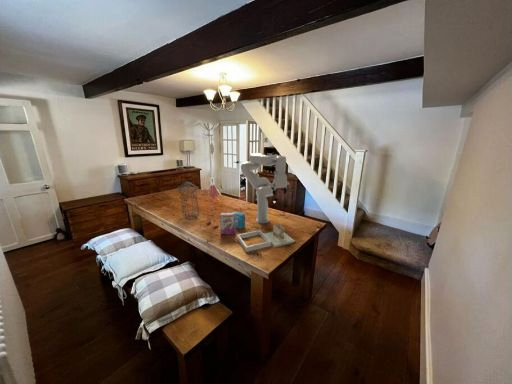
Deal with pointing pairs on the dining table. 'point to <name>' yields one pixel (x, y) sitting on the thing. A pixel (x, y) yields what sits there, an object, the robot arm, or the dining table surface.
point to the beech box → (278, 231)
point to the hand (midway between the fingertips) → (279, 194)
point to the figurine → (213, 193)
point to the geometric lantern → (189, 197)
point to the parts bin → (256, 246)
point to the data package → (239, 220)
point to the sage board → (276, 242)
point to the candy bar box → (227, 223)
